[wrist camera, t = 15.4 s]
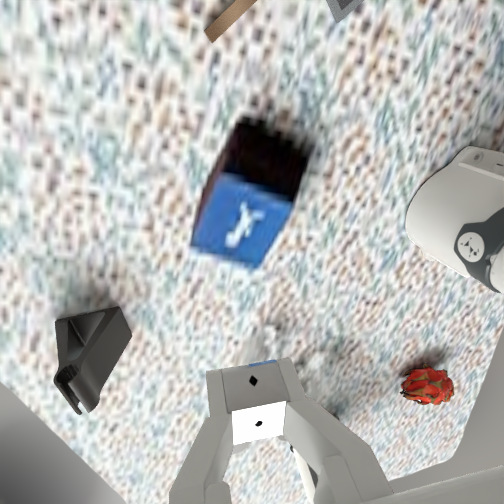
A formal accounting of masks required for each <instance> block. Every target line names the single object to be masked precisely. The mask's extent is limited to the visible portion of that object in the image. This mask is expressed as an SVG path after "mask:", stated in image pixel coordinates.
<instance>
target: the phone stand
mask: <svg viewBox="0 0 504 504" xmlns="http://www.w3.org/2000/svg"><path fill="white" fill-rule="evenodd" d="M55 329H56V339H57V349H58V360H59V368H58V371H57V373H56V375H55V377H54V384H55V385H56V386H57V388H58V389H59V390H60V392H61V393H62V394H63V396H64V397H65V399H66V400H67V401H68V403H69V404H70V405H71V407H72V408H73V409H74V411H75V412H76V413H77V414H79V415H81V414H82V412H81V410H80V409H79V408H78V403H79V402H81V403H82V404H83V406H84V407H85V409H86V410H87V412H88V413H89V412H91V411H92V410H93V409H95V407H96V406H97V405H98V403H99V400H100V392H101V389H102V387H103V386H104V384H105V382H106V380H107V379H108V377H109V375H110V373H111V372H112V370H113V368H114V367H115V365H116V363H117V361H118V360H119V358H120V356H121V355H122V353H123V351H124V349H125V348H126V346H127V344H128V343H129V341H130V339H131V337H132V334H131V332H130V330H129V328H128V325H127V323H126V321H125V319H124V317H123V315H122V312H121V310H120V308H119V307H114V308H110V309H105V310H101V311H96V312H91V313H89V314H82V315H78V316H73V317H68V318H64V319H59V320H57V321H55Z"/></svg>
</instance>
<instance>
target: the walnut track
mask: <svg viewBox="0 0 504 504" xmlns="http://www.w3.org/2000/svg"><path fill="white" fill-rule="evenodd" d="M256 1H257V0H236V1H235V2H234V3H233V4H232V5H231V6H230V7H229V8H228V9H226V10H225V11H224V12H223V13H222V14H221V15H220V16H219V17H218V18H217V19H216V20H215V21H214V22H213V23H212V24H211V25H210V26H209V27H208V28H207V29H206V30H205V31H204V33H205V34H206V36H207V37H208V39H209V40H210V41H211V43H213V42H214V41H215V40H216V39H217V38H218V37H219V36H220V35H221V34H223V33H224V32H225V31H226V30H227V29H228V28H229V27H230V26H231V25H232V24H233V23H234V22H235V21H236V20H237V19H238V18H239V17H240V16H241V15H242V14H243V13H244V12H245V11H246V10H247V9H249V8H250V7H251V6H252V5H253V4H254V3H255V2H256Z"/></svg>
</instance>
